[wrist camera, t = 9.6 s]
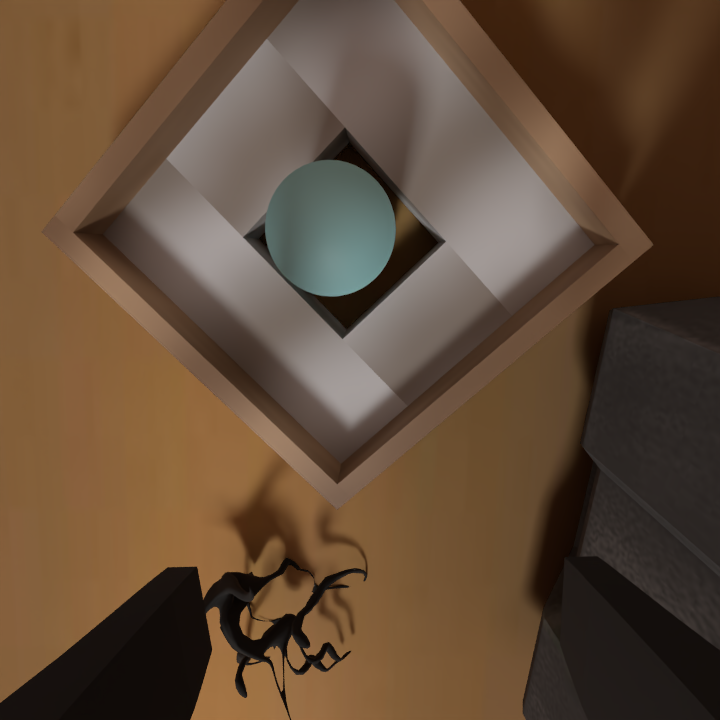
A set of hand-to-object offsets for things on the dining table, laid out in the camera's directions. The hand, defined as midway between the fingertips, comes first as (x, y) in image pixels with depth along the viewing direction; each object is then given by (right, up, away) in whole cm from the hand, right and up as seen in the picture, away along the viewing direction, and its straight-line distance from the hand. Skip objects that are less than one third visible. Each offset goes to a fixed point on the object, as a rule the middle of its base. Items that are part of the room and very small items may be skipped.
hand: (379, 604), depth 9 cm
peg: (-1, +9, +8) cm, 12 cm away
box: (-1, +9, +8) cm, 12 cm away
